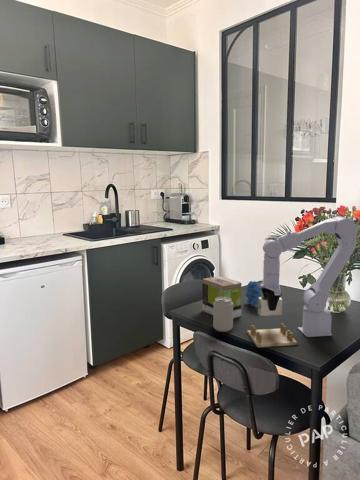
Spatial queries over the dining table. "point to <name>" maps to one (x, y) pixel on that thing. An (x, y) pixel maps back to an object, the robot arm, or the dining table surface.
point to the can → (223, 314)
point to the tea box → (221, 293)
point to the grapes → (253, 293)
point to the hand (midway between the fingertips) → (270, 308)
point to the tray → (272, 337)
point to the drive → (264, 307)
